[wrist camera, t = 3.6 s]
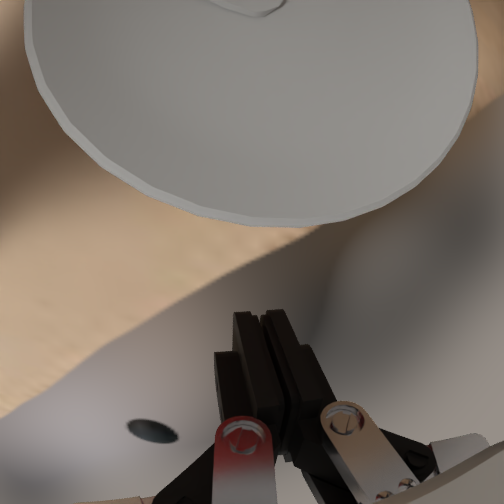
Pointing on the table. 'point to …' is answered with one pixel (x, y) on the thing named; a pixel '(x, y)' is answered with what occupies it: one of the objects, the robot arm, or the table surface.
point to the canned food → (259, 98)
